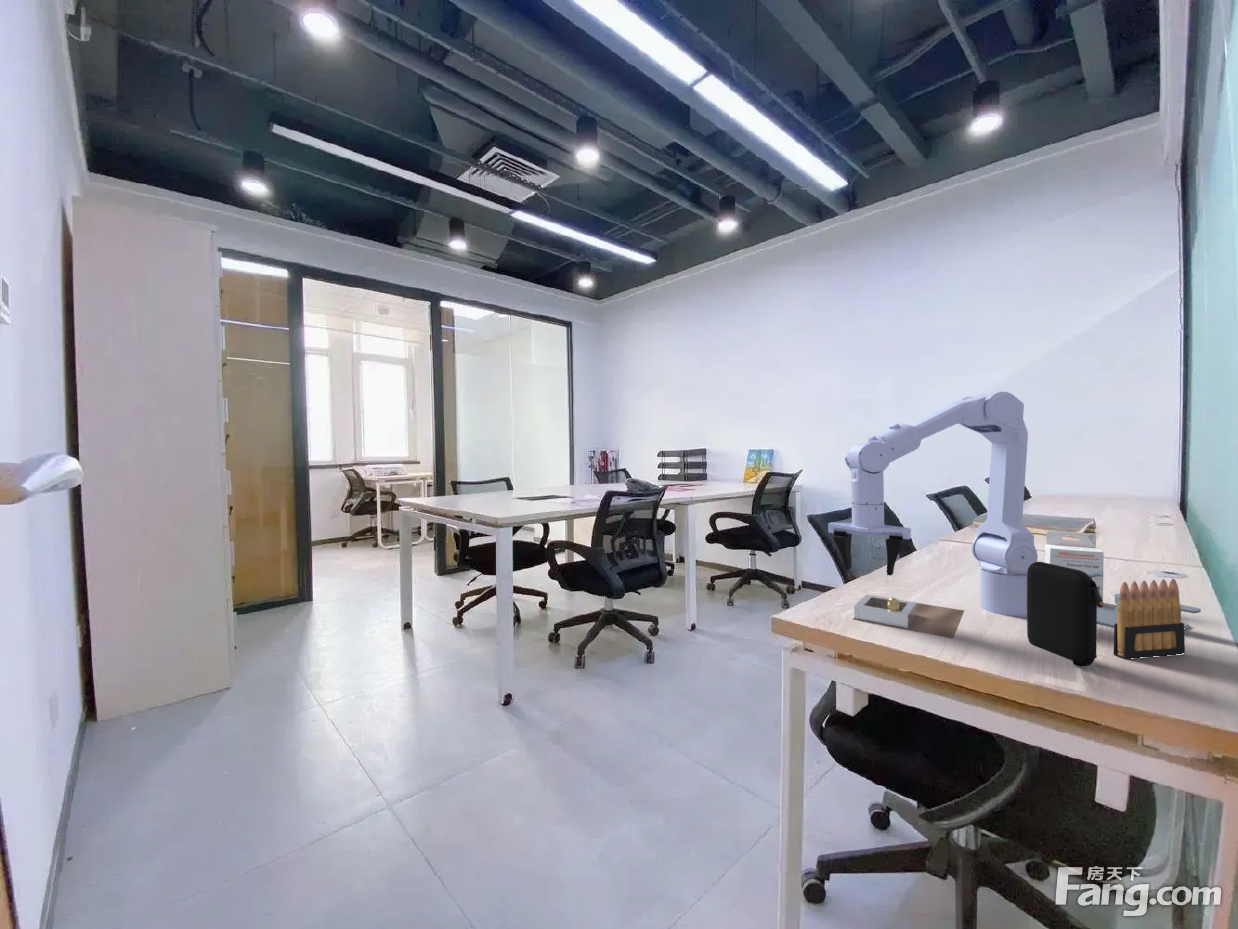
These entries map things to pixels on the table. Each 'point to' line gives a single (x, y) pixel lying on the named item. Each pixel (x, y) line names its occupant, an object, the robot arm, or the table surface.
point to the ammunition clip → (1149, 621)
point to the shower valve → (1109, 614)
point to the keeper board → (933, 620)
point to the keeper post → (893, 604)
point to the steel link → (885, 611)
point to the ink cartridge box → (1076, 554)
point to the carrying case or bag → (1063, 611)
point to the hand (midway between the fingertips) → (868, 571)
